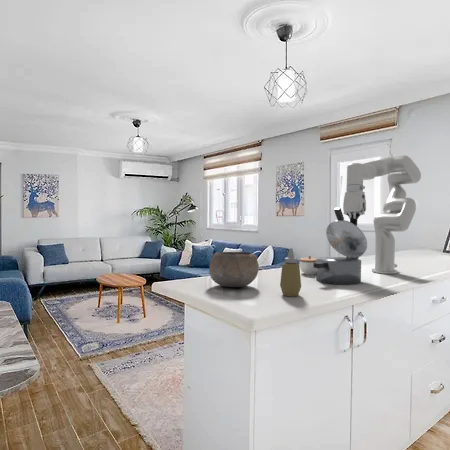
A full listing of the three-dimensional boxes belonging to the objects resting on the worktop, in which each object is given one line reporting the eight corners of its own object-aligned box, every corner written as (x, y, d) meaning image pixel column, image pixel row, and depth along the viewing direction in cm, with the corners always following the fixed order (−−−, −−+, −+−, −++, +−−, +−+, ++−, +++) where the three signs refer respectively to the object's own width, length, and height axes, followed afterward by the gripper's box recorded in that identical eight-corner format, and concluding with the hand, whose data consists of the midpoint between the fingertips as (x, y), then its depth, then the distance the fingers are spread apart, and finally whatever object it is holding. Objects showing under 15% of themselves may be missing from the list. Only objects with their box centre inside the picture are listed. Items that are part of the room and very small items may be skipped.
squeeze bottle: (277, 293, 142) (278, 247, 141) (297, 292, 142) (298, 247, 142) (282, 297, 134) (283, 249, 133) (303, 297, 134) (304, 249, 134)
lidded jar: (320, 275, 181) (320, 257, 181) (299, 275, 183) (299, 256, 183) (319, 272, 192) (319, 255, 191) (299, 271, 194) (299, 254, 194)
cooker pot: (333, 275, 182) (333, 256, 181) (369, 281, 166) (370, 260, 165) (298, 281, 166) (298, 259, 166) (335, 288, 150) (335, 264, 150)
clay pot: (202, 284, 159) (202, 250, 158) (244, 281, 167) (244, 248, 167) (220, 294, 139) (220, 255, 139) (267, 289, 148) (267, 253, 147)
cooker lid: (333, 257, 182) (337, 253, 184) (371, 261, 166) (374, 257, 167) (317, 210, 173) (320, 207, 175) (355, 210, 157) (358, 206, 158)
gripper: (373, 188, 170) (372, 227, 170) (345, 190, 182) (344, 226, 182) (364, 187, 166) (363, 227, 166) (336, 189, 178) (335, 226, 178)
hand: (353, 226), depth 174 cm, fingers closed
